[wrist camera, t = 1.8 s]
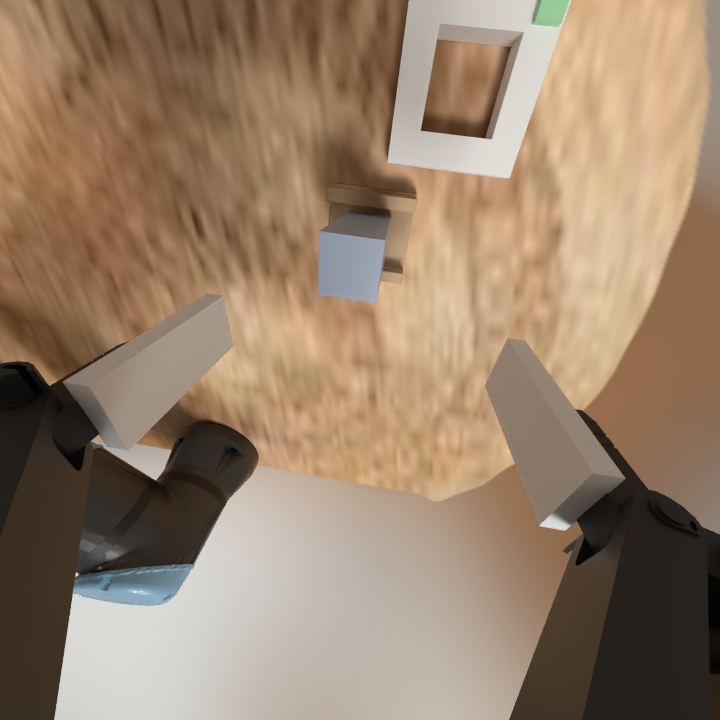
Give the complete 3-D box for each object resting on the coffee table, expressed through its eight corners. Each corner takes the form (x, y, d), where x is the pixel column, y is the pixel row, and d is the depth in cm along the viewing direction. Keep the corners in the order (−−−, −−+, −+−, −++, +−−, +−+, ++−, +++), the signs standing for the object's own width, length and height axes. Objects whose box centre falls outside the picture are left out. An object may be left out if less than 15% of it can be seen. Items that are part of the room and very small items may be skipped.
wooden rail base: (329, 267, 31) (323, 275, 28) (333, 182, 26) (326, 183, 23) (400, 277, 30) (400, 286, 28) (416, 193, 26) (418, 195, 23)
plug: (347, 253, 28) (318, 294, 19) (350, 210, 26) (319, 231, 16) (385, 258, 28) (375, 303, 18) (391, 215, 26) (385, 240, 16)
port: (388, 163, 25) (387, 162, 22) (412, -13, 19) (413, -42, 16) (500, 177, 24) (511, 178, 22) (558, 1, 18) (583, -26, 16)
